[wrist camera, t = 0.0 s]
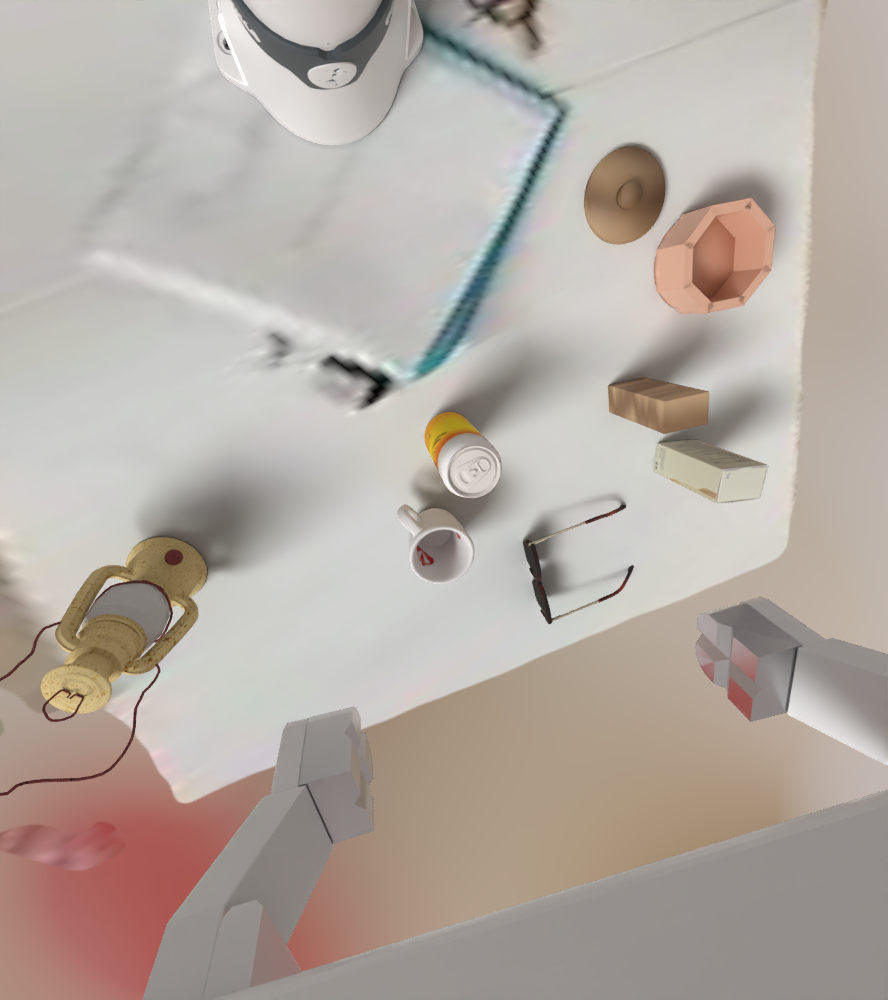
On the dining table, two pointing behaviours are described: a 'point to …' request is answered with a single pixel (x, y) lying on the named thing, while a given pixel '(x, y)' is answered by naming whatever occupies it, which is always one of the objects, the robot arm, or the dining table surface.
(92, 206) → the dining table surface
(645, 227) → the jar lid
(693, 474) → the skincare box
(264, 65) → the robot arm
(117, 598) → the lantern
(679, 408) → the brown wooden block
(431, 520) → the cup
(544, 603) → the sunglasses
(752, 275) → the jar
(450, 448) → the beer can
